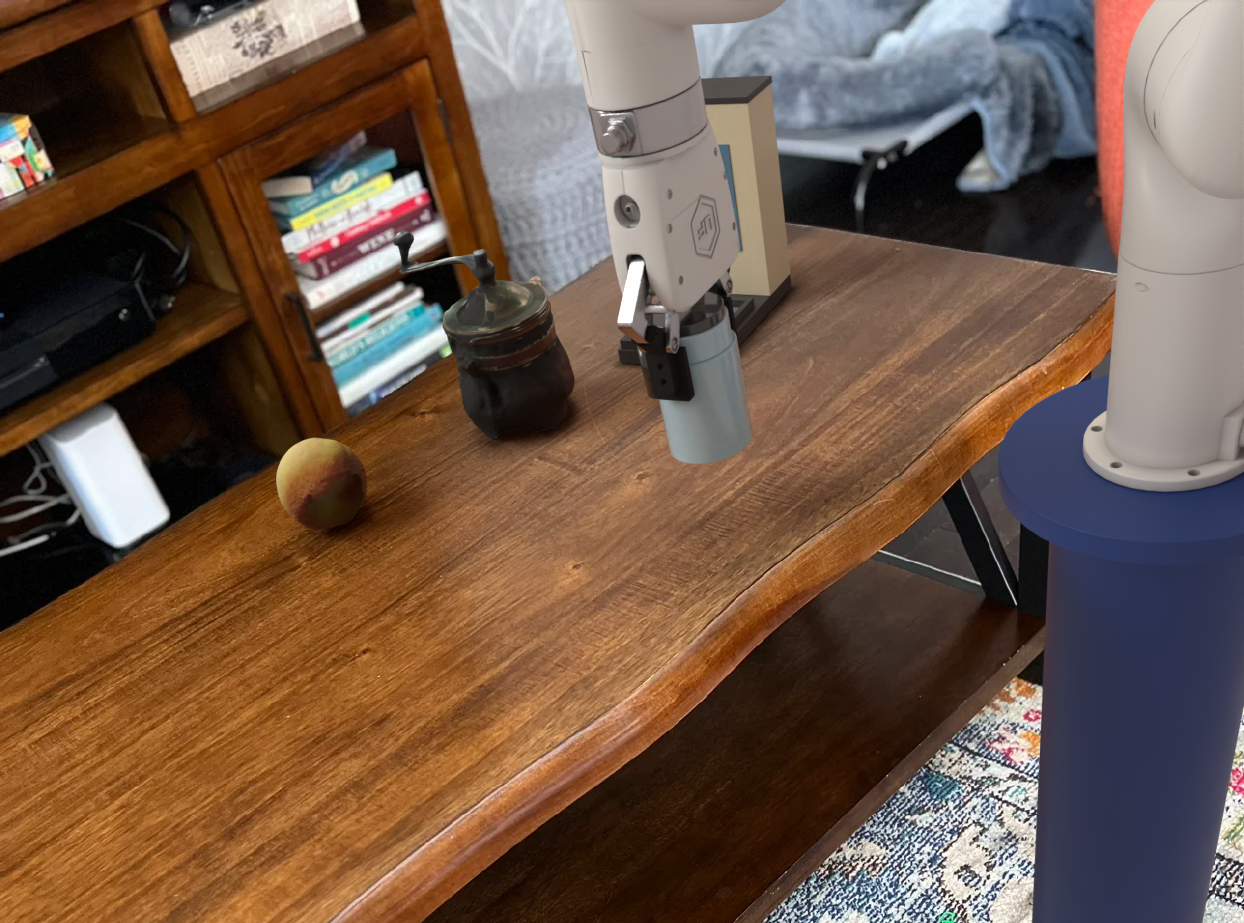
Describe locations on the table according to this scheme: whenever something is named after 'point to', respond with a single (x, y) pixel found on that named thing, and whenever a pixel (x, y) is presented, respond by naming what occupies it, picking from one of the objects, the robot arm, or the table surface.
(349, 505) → the fruit
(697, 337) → the carafe
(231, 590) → the table surface
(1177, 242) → the robot arm
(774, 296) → the coffee maker
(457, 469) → the table surface
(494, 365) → the coffee grinder
